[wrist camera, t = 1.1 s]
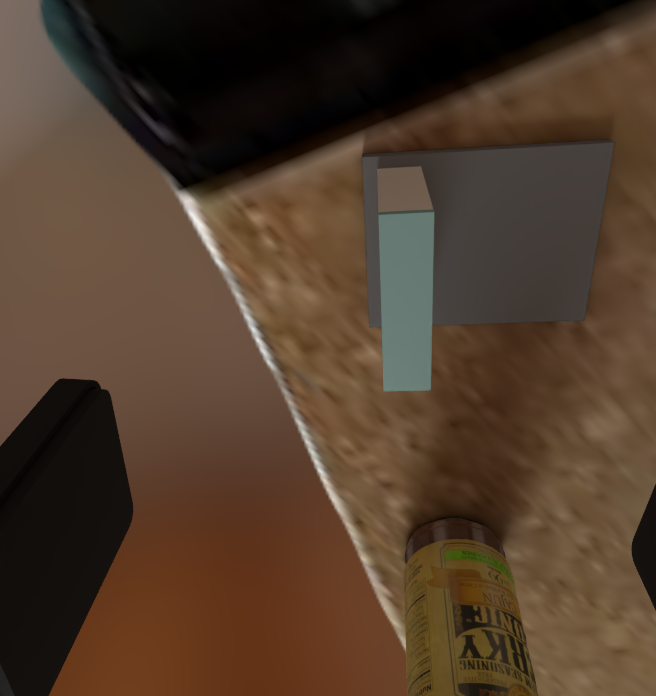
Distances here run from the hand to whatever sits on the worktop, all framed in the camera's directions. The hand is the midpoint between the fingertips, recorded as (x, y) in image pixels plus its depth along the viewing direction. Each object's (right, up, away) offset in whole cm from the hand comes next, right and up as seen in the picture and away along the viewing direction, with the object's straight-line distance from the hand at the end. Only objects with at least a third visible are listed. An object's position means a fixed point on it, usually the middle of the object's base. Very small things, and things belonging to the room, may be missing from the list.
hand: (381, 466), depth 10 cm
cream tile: (+2, +6, +16) cm, 18 cm away
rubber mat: (+6, +7, +16) cm, 19 cm away
